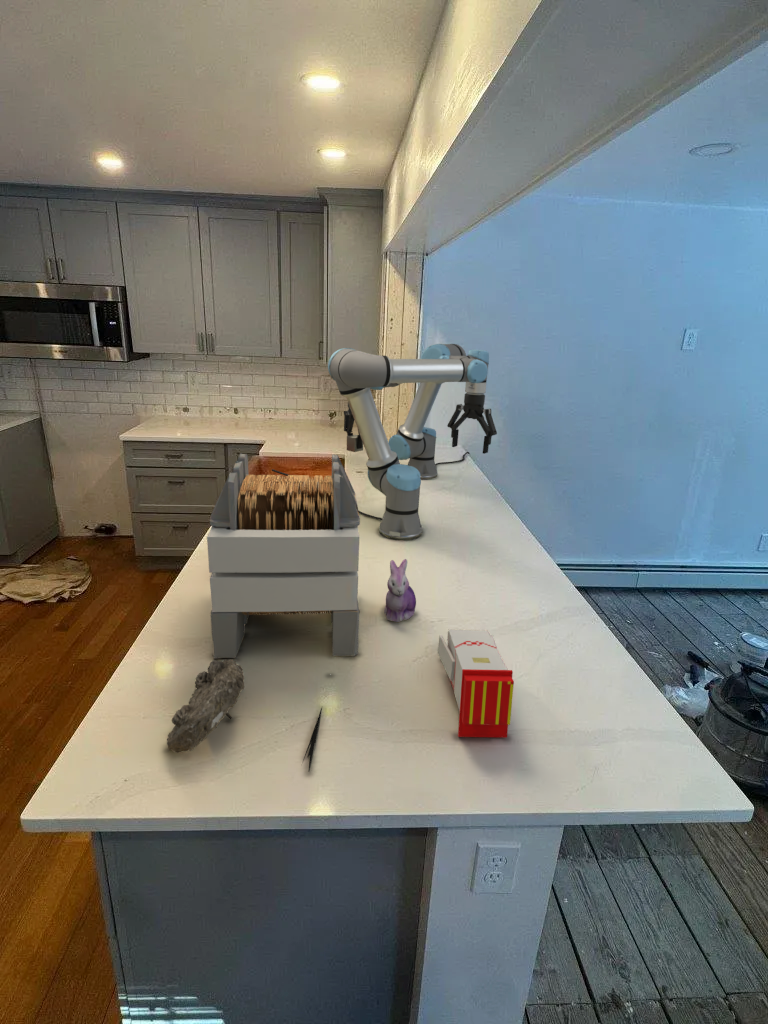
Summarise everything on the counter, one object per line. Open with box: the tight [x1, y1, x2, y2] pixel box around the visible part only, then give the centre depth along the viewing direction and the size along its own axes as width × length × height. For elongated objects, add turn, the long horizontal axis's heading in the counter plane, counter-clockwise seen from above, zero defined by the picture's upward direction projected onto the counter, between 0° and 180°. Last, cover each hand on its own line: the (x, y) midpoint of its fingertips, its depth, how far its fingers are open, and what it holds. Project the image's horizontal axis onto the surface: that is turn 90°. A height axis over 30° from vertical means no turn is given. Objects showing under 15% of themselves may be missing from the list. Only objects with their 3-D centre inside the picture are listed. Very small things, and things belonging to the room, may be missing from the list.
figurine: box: [384, 558, 417, 623], centre depth 145 cm, size 9×10×15 cm
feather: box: [301, 673, 332, 771], centre depth 108 cm, size 2×28×2 cm
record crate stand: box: [206, 452, 361, 660], centre depth 135 cm, size 34×33×41 cm
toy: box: [437, 628, 515, 738], centre depth 117 cm, size 12×13×30 cm
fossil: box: [166, 658, 245, 754], centre depth 106 cm, size 22×10×15 cm
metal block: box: [346, 434, 364, 453], centre depth 276 cm, size 6×6×7 cm
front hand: (469, 449), depth 216 cm, fingers open, 13 cm apart
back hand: (354, 447), depth 277 cm, fingers closed on metal block, 5 cm apart
